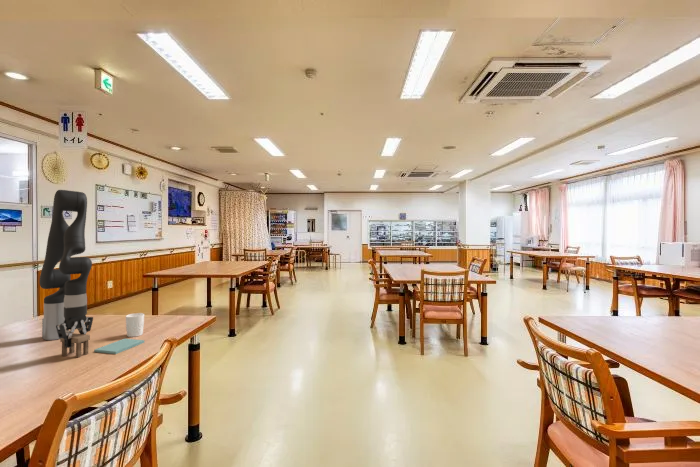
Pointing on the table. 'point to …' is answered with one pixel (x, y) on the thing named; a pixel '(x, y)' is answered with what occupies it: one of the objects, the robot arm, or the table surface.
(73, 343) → the tan slab with prongs
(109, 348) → the board
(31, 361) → the table surface
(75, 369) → the table surface
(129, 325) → the white cup
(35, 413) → the table surface
